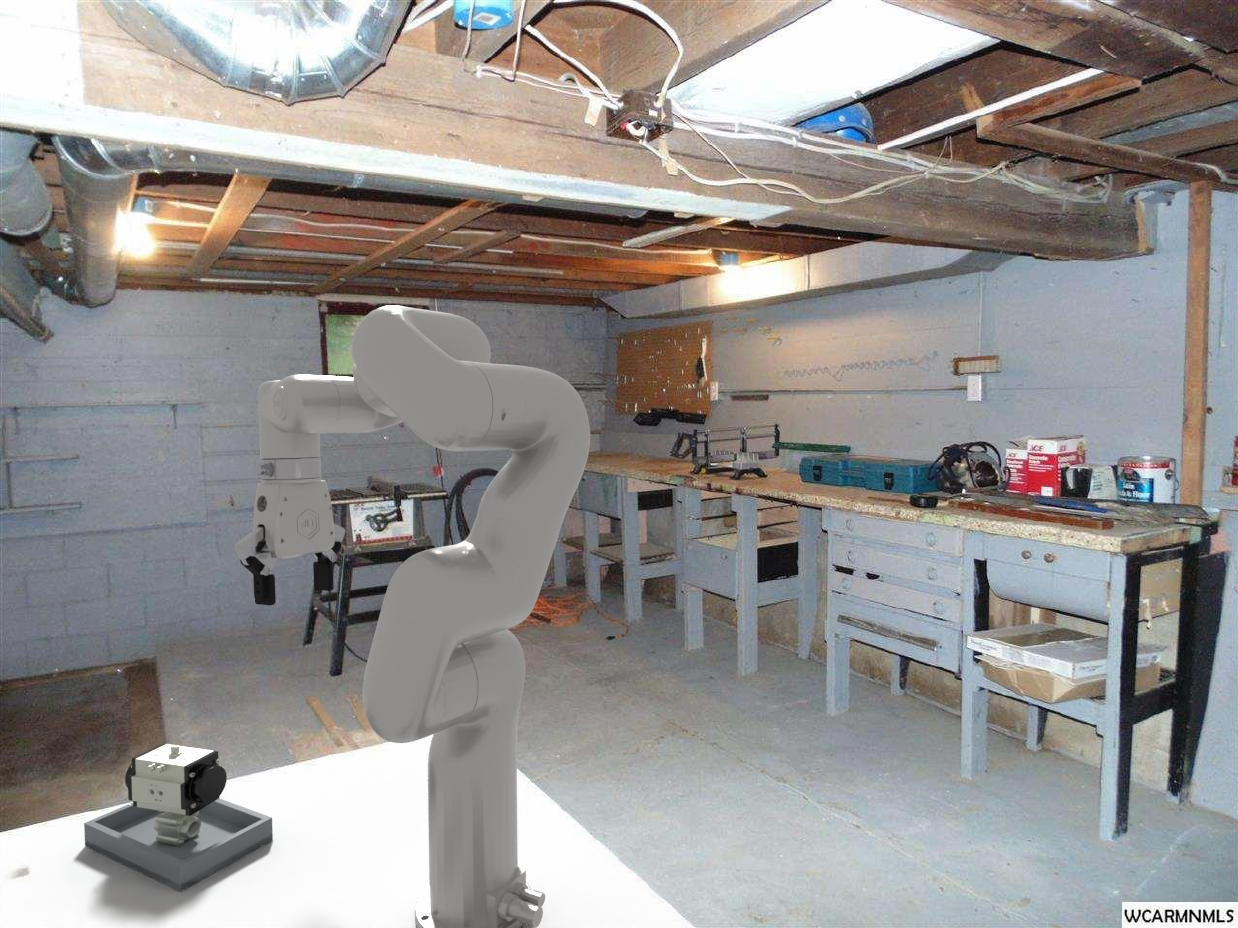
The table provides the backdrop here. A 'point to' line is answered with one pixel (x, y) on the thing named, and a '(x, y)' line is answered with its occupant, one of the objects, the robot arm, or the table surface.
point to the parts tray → (213, 848)
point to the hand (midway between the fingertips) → (295, 596)
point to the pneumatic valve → (175, 787)
